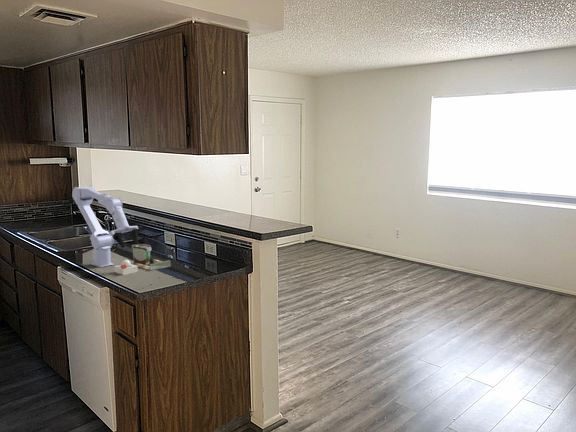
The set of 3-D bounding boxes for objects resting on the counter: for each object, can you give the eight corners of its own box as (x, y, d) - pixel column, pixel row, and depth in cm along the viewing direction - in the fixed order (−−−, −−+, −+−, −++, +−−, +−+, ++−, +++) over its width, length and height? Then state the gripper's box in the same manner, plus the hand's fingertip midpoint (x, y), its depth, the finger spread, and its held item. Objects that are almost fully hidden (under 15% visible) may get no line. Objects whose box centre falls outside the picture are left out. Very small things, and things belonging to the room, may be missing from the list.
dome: (118, 269, 238) (118, 259, 237) (127, 267, 242) (127, 258, 241) (124, 271, 235) (124, 261, 234) (133, 269, 239) (132, 259, 238)
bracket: (135, 265, 251) (134, 260, 250) (154, 262, 260) (154, 256, 260) (151, 270, 242) (150, 264, 242) (170, 266, 251) (170, 260, 251)
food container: (156, 264, 255) (156, 245, 254) (147, 266, 250) (147, 247, 248) (141, 261, 262) (140, 243, 260) (132, 263, 256) (131, 244, 255)
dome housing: (114, 272, 238) (113, 262, 237) (128, 269, 244) (128, 259, 243) (123, 275, 233) (123, 265, 232) (137, 271, 239) (137, 262, 238)
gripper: (110, 220, 232) (121, 245, 230) (136, 215, 243) (146, 239, 241) (104, 225, 236) (114, 250, 234) (130, 221, 248) (140, 244, 245)
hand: (130, 245), depth 238 cm, fingers open, 7 cm apart
